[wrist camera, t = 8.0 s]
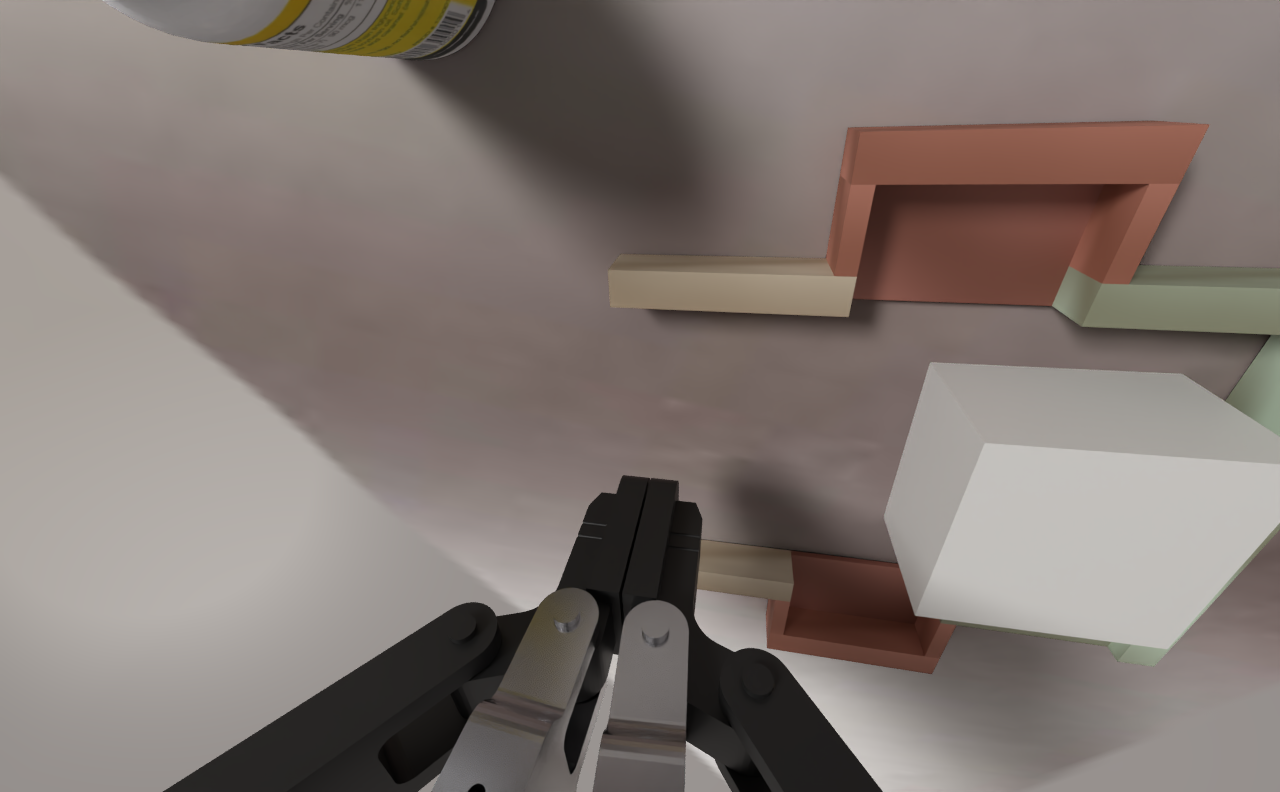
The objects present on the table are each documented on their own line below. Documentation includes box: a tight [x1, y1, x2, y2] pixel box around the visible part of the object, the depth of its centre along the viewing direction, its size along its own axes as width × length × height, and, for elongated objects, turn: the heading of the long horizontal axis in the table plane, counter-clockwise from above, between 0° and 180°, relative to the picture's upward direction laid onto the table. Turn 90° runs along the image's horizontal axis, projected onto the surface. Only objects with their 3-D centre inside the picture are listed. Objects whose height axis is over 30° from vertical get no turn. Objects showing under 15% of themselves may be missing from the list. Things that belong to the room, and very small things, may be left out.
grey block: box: [884, 362, 1280, 649], centre depth 13 cm, size 6×6×4 cm
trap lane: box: [608, 121, 1280, 674], centre depth 15 cm, size 18×17×2 cm
